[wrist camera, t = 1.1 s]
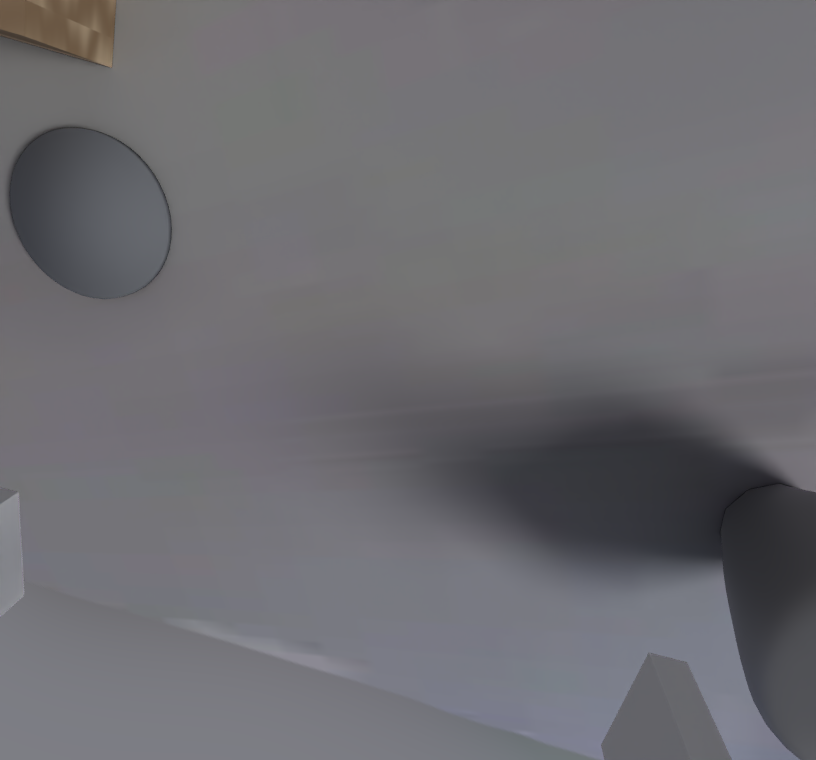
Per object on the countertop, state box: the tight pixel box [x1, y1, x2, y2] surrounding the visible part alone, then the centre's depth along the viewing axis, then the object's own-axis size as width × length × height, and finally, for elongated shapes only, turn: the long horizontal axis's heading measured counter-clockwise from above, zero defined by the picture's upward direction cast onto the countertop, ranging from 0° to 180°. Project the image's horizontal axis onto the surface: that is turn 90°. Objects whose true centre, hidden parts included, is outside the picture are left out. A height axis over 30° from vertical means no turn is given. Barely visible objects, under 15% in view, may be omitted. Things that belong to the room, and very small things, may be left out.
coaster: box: [10, 128, 172, 299], centre depth 36 cm, size 11×11×1 cm
